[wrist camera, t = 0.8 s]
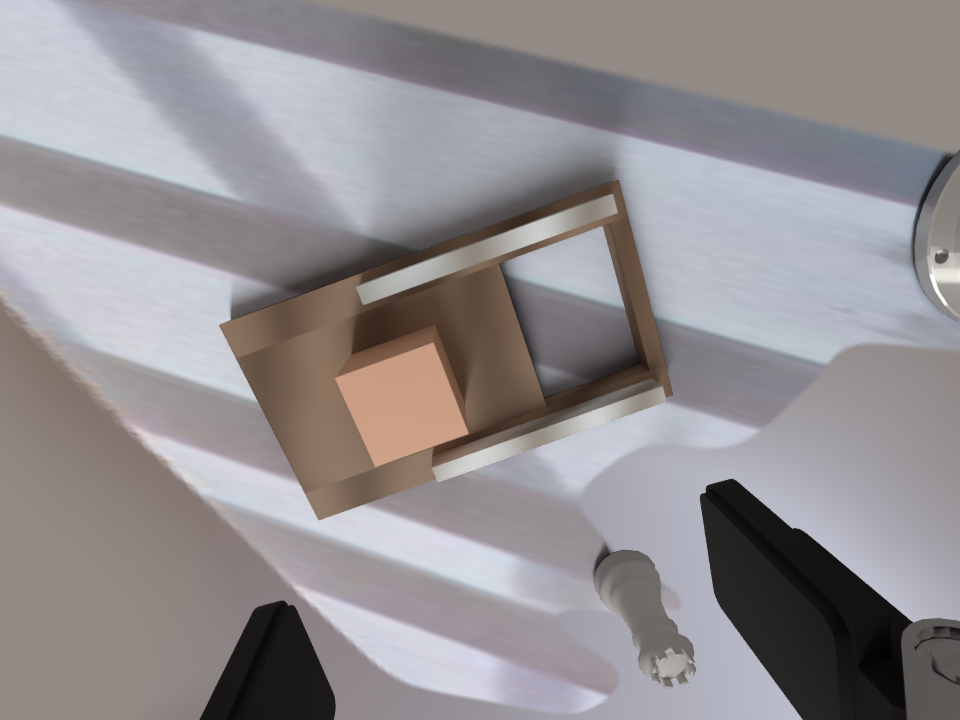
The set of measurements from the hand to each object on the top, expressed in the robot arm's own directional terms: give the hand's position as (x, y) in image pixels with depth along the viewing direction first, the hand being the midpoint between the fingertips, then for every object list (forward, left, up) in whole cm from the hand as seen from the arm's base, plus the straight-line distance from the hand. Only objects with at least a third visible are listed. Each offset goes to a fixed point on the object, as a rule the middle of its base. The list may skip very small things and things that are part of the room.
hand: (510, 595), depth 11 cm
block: (+3, -1, -18) cm, 19 cm away
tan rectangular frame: (0, -1, -20) cm, 20 cm away
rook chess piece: (-5, +18, -20) cm, 28 cm away
